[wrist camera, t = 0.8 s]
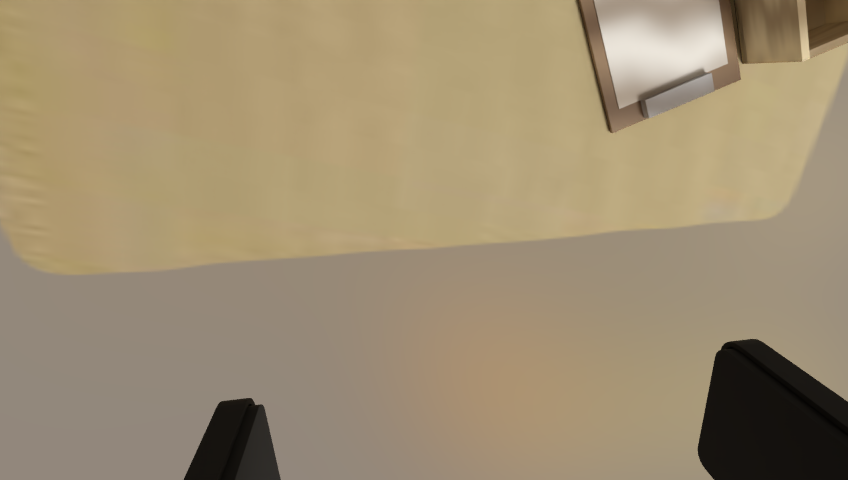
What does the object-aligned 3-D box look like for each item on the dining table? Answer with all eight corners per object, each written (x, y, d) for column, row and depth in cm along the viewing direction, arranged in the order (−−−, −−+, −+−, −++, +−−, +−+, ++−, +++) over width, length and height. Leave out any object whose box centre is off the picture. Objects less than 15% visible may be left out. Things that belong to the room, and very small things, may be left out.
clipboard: (562, -63, 36) (568, -68, 35) (708, -126, 36) (719, -133, 34) (610, 132, 41) (617, 134, 40) (737, 79, 41) (747, 79, 40)
